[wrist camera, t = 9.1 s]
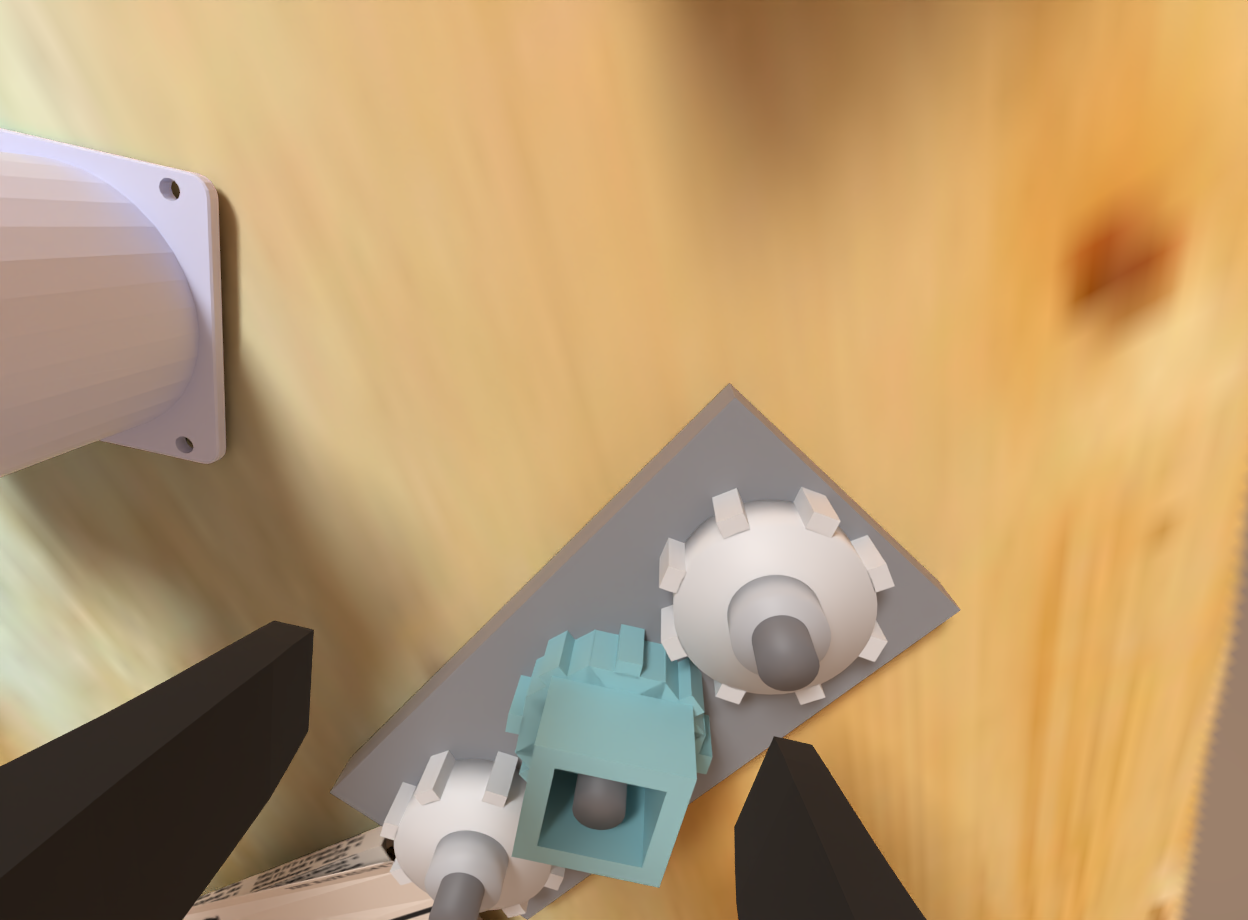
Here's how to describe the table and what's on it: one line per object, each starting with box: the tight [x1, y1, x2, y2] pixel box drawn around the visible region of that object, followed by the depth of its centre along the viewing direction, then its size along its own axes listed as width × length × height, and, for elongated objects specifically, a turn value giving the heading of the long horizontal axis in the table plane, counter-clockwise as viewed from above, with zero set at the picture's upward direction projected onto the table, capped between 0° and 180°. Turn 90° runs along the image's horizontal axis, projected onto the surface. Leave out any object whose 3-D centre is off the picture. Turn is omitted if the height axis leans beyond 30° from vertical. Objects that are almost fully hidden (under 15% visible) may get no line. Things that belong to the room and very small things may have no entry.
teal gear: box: [505, 624, 712, 888], centre depth 17 cm, size 6×6×4 cm
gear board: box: [330, 383, 960, 920], centre depth 18 cm, size 20×9×5 cm, turn 138°
